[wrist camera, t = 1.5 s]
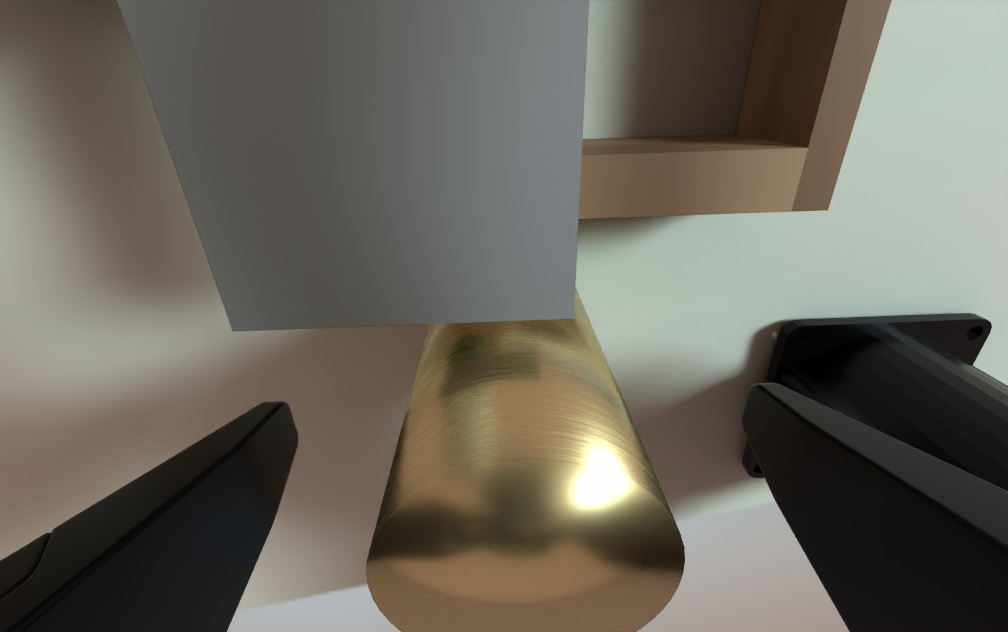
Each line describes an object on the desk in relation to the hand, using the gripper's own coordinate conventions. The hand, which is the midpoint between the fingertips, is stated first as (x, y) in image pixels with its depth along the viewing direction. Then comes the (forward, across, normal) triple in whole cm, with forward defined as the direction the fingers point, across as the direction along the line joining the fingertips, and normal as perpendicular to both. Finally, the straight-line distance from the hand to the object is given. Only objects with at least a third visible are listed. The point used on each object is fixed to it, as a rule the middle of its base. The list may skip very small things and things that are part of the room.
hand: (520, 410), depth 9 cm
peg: (+6, 0, 0) cm, 6 cm away
